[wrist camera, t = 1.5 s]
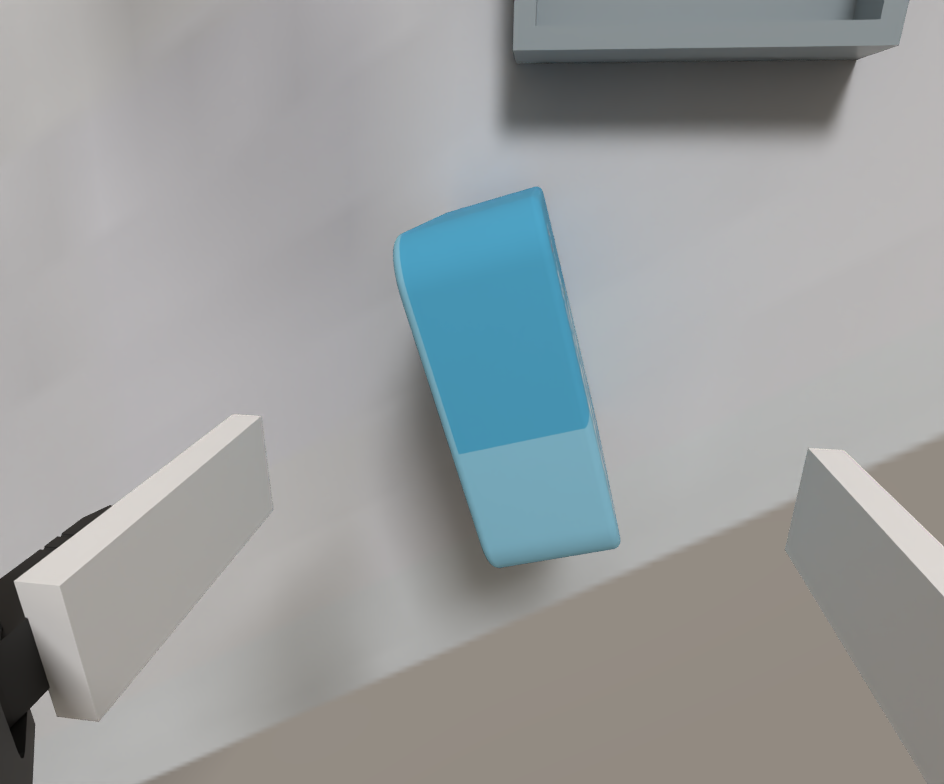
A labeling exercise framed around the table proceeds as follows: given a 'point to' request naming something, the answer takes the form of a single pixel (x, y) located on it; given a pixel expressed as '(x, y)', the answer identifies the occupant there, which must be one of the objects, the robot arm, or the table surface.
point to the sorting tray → (703, 30)
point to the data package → (508, 378)
